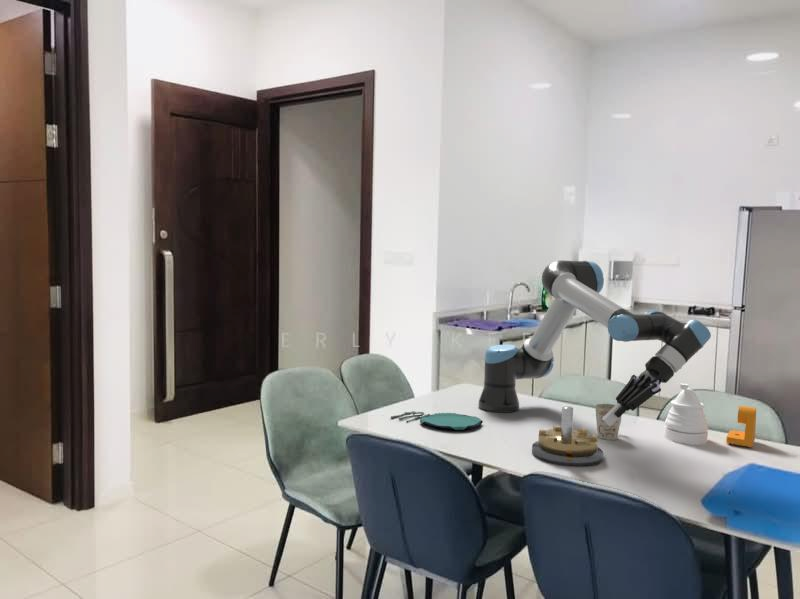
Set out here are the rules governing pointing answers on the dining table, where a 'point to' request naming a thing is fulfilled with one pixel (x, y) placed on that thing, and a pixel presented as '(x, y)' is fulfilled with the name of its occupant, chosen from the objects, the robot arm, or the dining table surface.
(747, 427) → the bracket
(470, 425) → the cutlery set
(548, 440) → the round peg stand
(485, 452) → the dining table surface
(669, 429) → the honey pot
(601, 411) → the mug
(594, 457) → the disc
